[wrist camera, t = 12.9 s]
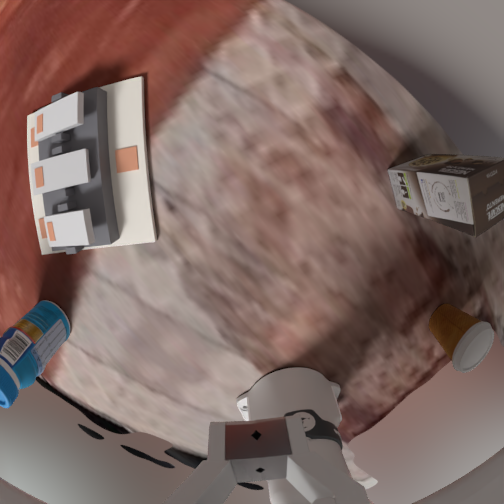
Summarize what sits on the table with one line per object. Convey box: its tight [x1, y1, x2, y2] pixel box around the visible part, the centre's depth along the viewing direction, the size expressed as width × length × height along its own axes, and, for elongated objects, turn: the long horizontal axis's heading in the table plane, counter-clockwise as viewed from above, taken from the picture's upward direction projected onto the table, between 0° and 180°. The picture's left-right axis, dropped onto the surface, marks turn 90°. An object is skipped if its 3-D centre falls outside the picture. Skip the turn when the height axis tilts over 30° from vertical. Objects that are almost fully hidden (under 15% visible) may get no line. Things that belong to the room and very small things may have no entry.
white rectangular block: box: [44, 208, 95, 247], centre depth 28 cm, size 4×8×1 cm, turn 94°
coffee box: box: [388, 154, 504, 237], centre depth 27 cm, size 9×6×16 cm
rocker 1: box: [35, 92, 84, 141], centre depth 24 cm, size 4×8×1 cm, turn 94°
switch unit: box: [27, 76, 157, 255], centre depth 29 cm, size 22×20×6 cm
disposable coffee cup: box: [429, 304, 494, 373], centre depth 37 cm, size 10×10×12 cm
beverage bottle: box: [0, 300, 70, 408], centre depth 29 cm, size 8×8×20 cm
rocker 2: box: [31, 149, 91, 195], centre depth 26 cm, size 4×8×1 cm, turn 94°
